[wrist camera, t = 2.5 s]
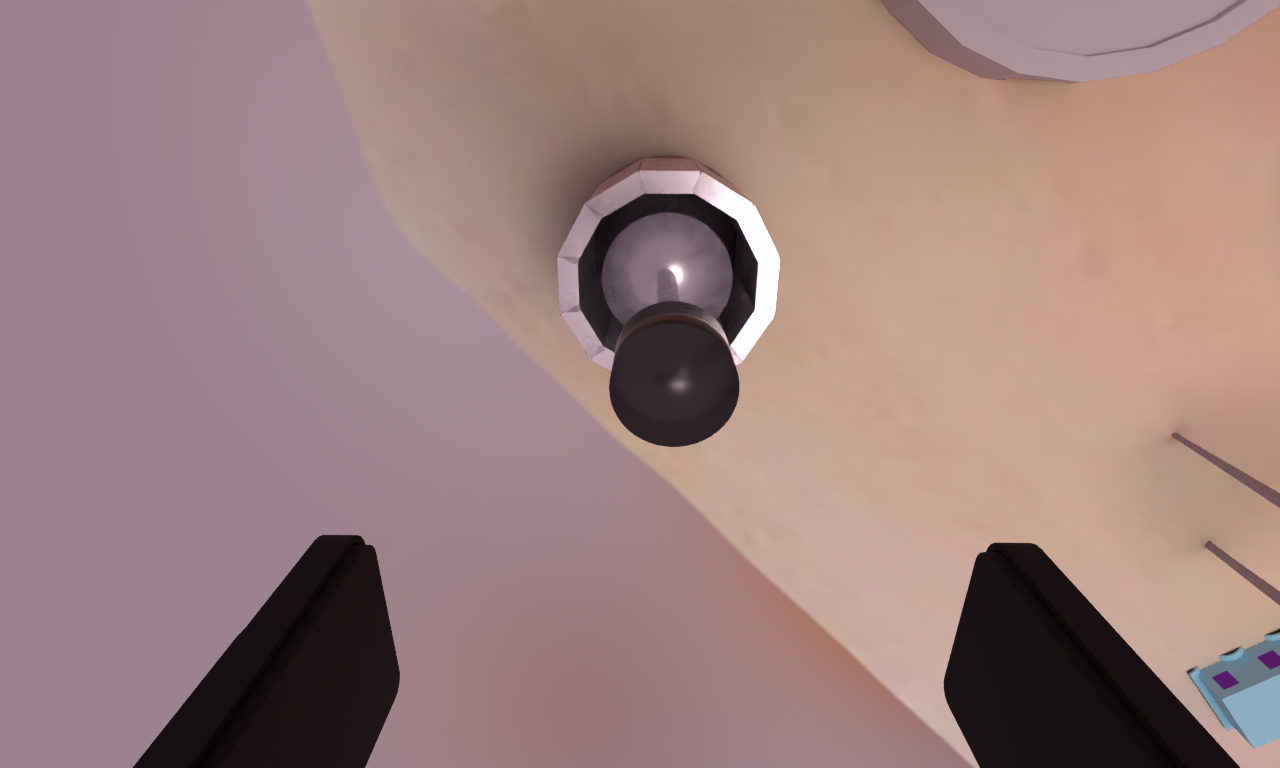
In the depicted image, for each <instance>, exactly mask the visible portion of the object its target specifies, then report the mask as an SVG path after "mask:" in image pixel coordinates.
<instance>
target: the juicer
mask: <svg viewBox="0 0 1280 768" xmlns="http://www.w3.org/2000/svg"><path fill="white" fill-rule="evenodd" d="M1172 435H1173V437H1174V438H1175V439H1177V440H1178V441H1180V442H1181V443H1183V444H1185V445H1186V446H1188V447H1189V448H1191V449H1192V450H1194V451H1195V452H1197V453H1198V454H1200V455H1201V456H1203V457H1204V458H1206V459H1207V460H1209V461H1210V462H1212V463H1213V464H1215V465H1216V466H1218V467H1219V468H1221V469H1222V470H1224V471H1225V472H1227V473H1228V474H1230V475H1231V476H1233V477H1234V478H1236V479H1237V480H1239V481H1240V482H1242V483H1243V484H1245V485H1246V486H1248V487H1249V488H1251V489H1252V490H1254V491H1255V492H1257V493H1258V494H1260V495H1261V496H1263V497H1264V498H1266V499H1267V500H1269V501H1270V502H1272V503H1273V504H1275V505H1276V506H1278V507H1279V508H1280V493H1278V492H1277V491H1275V490H1273V489H1271V488H1270V487H1268V486H1266V485H1264V484H1263V483H1261V482H1259V481H1258V480H1256V479H1254V478H1252V477H1251V476H1249V475H1247V474H1245V473H1244V472H1242V471H1240V470H1239V469H1237V468H1235V467H1233V466H1232V465H1230V464H1228V463H1226V462H1225V461H1223V460H1221V459H1220V458H1218V457H1216V456H1214V455H1213V454H1211V453H1209V452H1208V451H1206V450H1204V449H1203V448H1201V447H1199V446H1197V445H1196V444H1194V443H1192V442H1191V441H1189V440H1187V439H1186V438H1184V437H1182V436H1181V435H1179V434H1177V433H1174V434H1172ZM1206 548H1208V549H1209V550H1210V551H1211V552H1213V553H1214V554H1215V555H1216V556H1218V557H1219V558H1220V559H1221V560H1223V561H1224V562H1225V563H1226V564H1228V565H1229V566H1230V567H1231V568H1233V569H1234V570H1235V571H1237V572H1238V573H1239V574H1240V575H1242V576H1243V577H1244V578H1245V579H1247V580H1248V581H1249V582H1250V583H1252V584H1253V585H1254V586H1255V587H1257V588H1258V589H1259V590H1261V591H1262V592H1263V593H1264V594H1266V595H1267V596H1268V597H1270V598H1271V599H1272V600H1273V601H1275V602H1276V603H1277V604H1279V605H1280V591H1278V590H1277V589H1275V588H1274V587H1273V586H1271V585H1270V584H1268V583H1267V582H1266V581H1264V580H1263V579H1261V578H1260V577H1258V576H1257V575H1256V574H1254V573H1253V572H1251V571H1250V570H1249V569H1247V568H1246V567H1244V566H1243V565H1242V564H1240V563H1239V562H1237V561H1236V560H1235V559H1233V558H1232V557H1231V556H1229V555H1228V554H1226V553H1225V552H1224V551H1222V550H1221V549H1220V548H1218V547H1217V546H1216V545H1214V544H1213V543H1212V542H1208V543H1207V544H1206Z"/></svg>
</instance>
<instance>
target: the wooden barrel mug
mask: <svg viewBox="0 0 1280 768" xmlns="http://www.w3.org/2000/svg"><path fill="white" fill-rule="evenodd" d="M657 211H678V212H683V213H687V214H690V215H692V216H695V217H697V218H698V219H700V220H702V221H703V222H705V223H706V224H708V225H709V226H710V227H711V228H712V229H713V230H714V231H715V232H716V233H717V235H718V236H719V237H720V239H721V240H722V242H723V244H724V246H725V248H726V250H727V252H728V254H729V257H730V261H731V265H732V288H731V292H730V296H729V299H728V301H727V304H726V306H725V308H724V309H723V311H722V313H721V314H720V315H719V317H718V318H717V319H716V320H717V322H718V323H719V324H720V326H721V327H722V329H723V331H724V333H725V335H726V338H727V341H728V344H729V347H730V350H731V354H732V357H733V360H734V363H735V365H737V364H739V363H741V360H742V361H743V360H744V359H745V357H746V356H747V354H748V353H749V351H750V350H751V349H752V347H753V346H754V344H755V343H756V341H757V340H758V339H759V337H760V336H761V334H762V333H763V331H764V330H765V329H766V327H767V326H768V324H769V323H770V321H771V320H772V319H773V317H774V316H773V314H775V306H776V296H777V285H778V274H779V263H780V259H779V255H778V253H777V251H776V249H775V247H774V244H773V242H772V240H771V238H770V236H769V234H768V232H767V230H766V228H765V226H764V224H763V222H762V220H761V218H760V216H759V214H758V211H757V209H756V207H755V205H754V204H753V203H752V202H751V201H750V200H749V199H748V198H747V197H745V196H744V195H743V194H742V193H741V192H740V191H739V190H738V189H737V188H736V187H735V186H734V185H733V184H731V183H730V182H728V181H727V180H725V179H724V178H722V177H721V176H720V175H719V174H717V173H716V172H715V171H713V170H712V169H710V168H708V167H707V166H705V165H703V164H701V163H698V162H697V161H695V160H693V159H692V160H691V158H681V157H674V156H658V157H651V158H643V159H640V160H638V161H636V162H634V163H631V164H629V165H627V166H625V167H623V168H622V169H620V170H619V171H617V172H616V173H614V174H613V175H612V176H611V177H610V178H609V179H607V180H605V181H604V182H602V183H601V184H600V185H599V186H598V187H597V189H596V190H595V191H594V193H593V194H592V195H591V196H590V198H589V199H588V200H587V201H586V203H585V204H584V206H583V208H582V210H581V211H580V213H579V215H578V217H577V219H576V221H575V223H574V225H573V227H572V228H571V230H570V232H569V234H568V236H567V238H566V240H565V242H564V244H563V245H562V247H561V249H560V251H559V253H558V256H557V267H558V288H559V308H560V312H561V316H562V317H563V319H564V321H565V322H566V324H567V325H568V327H569V328H570V330H571V331H572V333H573V335H574V336H575V338H576V339H577V341H578V342H579V344H580V345H581V347H582V349H583V350H584V352H585V353H586V355H587V356H588V358H589V359H590V358H591V361H593V362H595V363H596V364H598V365H600V366H602V367H604V368H606V369H607V370H609V371H612V365H613V360H614V354H615V348H616V343H617V340H618V337H619V334H620V332H621V330H622V329H623V327H624V326H623V325H622V324H621V323H620V322H619V321H618V320H617V318H616V317H615V316H614V314H613V313H612V312H611V310H610V308H609V306H608V304H607V302H606V299H605V296H604V292H603V287H602V270H603V264H604V260H605V257H606V254H607V251H608V249H609V247H610V245H611V243H612V242H613V240H614V238H615V237H616V236H617V234H618V233H619V232H620V231H621V230H622V229H623V228H624V227H625V226H626V225H627V224H629V223H630V222H632V221H633V220H635V219H637V218H639V217H641V216H643V215H646V214H649V213H652V212H657Z"/></svg>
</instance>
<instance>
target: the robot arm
mask: <svg viewBox="0 0 1280 768" xmlns="http://www.w3.org/2000/svg"><path fill="white" fill-rule="evenodd" d="M399 680H400V672H399V666H398V661H397V656H396V651H395V646H394V641H393V636H392V631H391V626H390V621H389V616H388V611H387V606H386V601H385V596H384V591H383V586H382V581H381V576H380V570H379V566H378V561H377V555H376V552H375V549H374V547H373V546H372V545H365V542H364V540H363V539H362V537H361V536H358V535H322V536H319V537H318V538H317V539H316V540H315V541H314V542H313V543H312V545H311V546H310V547H309V548H308V550H307V551H306V552H305V553H304V555H303V556H302V557H301V558H300V560H299V561H298V562H297V563H296V565H295V566H294V567H293V569H292V570H291V571H290V572H289V574H288V575H287V576H286V577H285V579H284V580H283V581H282V582H281V584H280V585H279V586H278V587H277V589H276V590H275V591H274V592H273V594H272V595H271V596H270V598H269V599H268V600H267V601H266V603H265V604H264V605H263V606H262V608H261V609H260V610H259V611H258V613H257V614H256V615H255V617H254V618H253V619H252V620H251V622H250V623H249V624H248V625H247V627H246V628H245V629H244V630H243V631H242V632H241V633H240V634H239V635H238V636H237V637H236V638H235V640H234V641H233V642H232V643H231V645H230V646H229V647H228V648H227V650H226V651H225V652H224V654H223V655H222V656H221V657H220V659H219V660H218V661H217V662H216V664H215V665H214V666H213V668H212V669H211V670H210V671H209V672H208V674H207V675H206V677H204V679H203V680H202V681H201V682H200V684H199V685H198V686H197V688H196V689H195V690H194V691H193V693H192V694H191V695H190V696H189V698H188V699H187V700H186V701H185V703H184V704H183V705H182V706H181V708H180V709H179V710H178V711H177V713H176V714H175V715H174V716H173V718H172V719H171V720H170V721H169V723H168V724H167V725H166V726H165V728H164V729H163V730H162V732H161V733H160V734H159V735H158V737H157V738H156V739H155V740H154V742H153V743H152V744H151V745H150V747H149V748H148V749H147V750H146V752H145V753H144V754H143V756H142V757H141V758H140V759H139V760H138V762H137V763H136V764H135V765H134V767H133V768H365V766H366V764H367V762H368V759H369V757H370V755H371V753H372V750H373V748H374V746H375V743H376V741H377V739H378V737H379V734H380V732H381V730H382V727H383V725H384V723H385V721H386V718H387V716H388V714H389V711H390V709H391V707H392V705H393V702H394V700H395V698H396V695H397V692H398V687H399ZM944 692H945V697H946V701H947V703H948V705H949V708H950V710H951V712H952V714H953V716H954V717H955V719H956V721H957V723H958V725H959V727H960V729H961V731H962V733H963V735H964V737H965V739H966V741H967V743H968V745H969V747H970V749H971V751H972V753H973V755H974V757H975V759H976V761H977V763H978V765H979V767H980V768H1240V767H1239V766H1238V765H1237V763H1236V762H1235V761H1234V760H1233V759H1232V758H1231V757H1230V756H1229V755H1228V754H1227V753H1226V751H1225V750H1224V749H1223V748H1222V747H1221V746H1220V745H1219V744H1218V743H1217V742H1216V740H1215V739H1214V738H1213V737H1212V736H1211V735H1210V734H1209V733H1208V732H1207V731H1206V729H1205V728H1204V727H1203V726H1202V725H1201V724H1200V723H1199V722H1198V721H1197V720H1196V718H1195V717H1194V716H1193V715H1192V714H1191V713H1190V712H1189V711H1188V710H1187V709H1186V707H1185V706H1184V705H1183V704H1182V703H1181V702H1180V701H1179V700H1178V699H1177V698H1176V696H1175V695H1174V694H1173V693H1172V692H1171V691H1170V690H1169V689H1168V688H1167V687H1166V685H1165V684H1164V683H1163V682H1162V681H1161V680H1160V679H1159V678H1158V677H1157V676H1156V674H1155V673H1154V672H1153V671H1152V670H1151V669H1150V668H1149V667H1148V666H1147V665H1146V664H1145V662H1144V661H1143V660H1142V659H1141V658H1140V657H1139V656H1138V655H1137V654H1136V653H1135V651H1134V650H1133V649H1132V648H1131V647H1130V646H1129V645H1128V644H1127V643H1126V642H1125V640H1124V639H1123V638H1122V637H1121V636H1120V635H1119V634H1118V633H1117V632H1116V631H1115V629H1114V628H1113V627H1112V626H1111V625H1110V624H1109V623H1108V622H1107V621H1106V620H1105V618H1104V617H1103V616H1102V615H1101V614H1100V613H1099V612H1098V611H1097V610H1096V609H1095V607H1094V606H1093V605H1092V604H1091V603H1090V602H1089V601H1088V600H1087V599H1086V598H1085V596H1084V595H1083V594H1082V593H1081V592H1080V591H1079V590H1078V589H1077V588H1076V587H1075V585H1074V584H1073V583H1072V582H1071V581H1070V580H1069V579H1068V578H1067V577H1066V576H1065V574H1064V573H1063V572H1062V571H1061V570H1060V569H1059V568H1058V567H1057V566H1056V565H1055V564H1054V562H1053V561H1052V560H1051V559H1050V558H1049V557H1048V556H1047V555H1046V554H1045V553H1044V551H1043V550H1042V549H1041V548H1039V547H1038V546H1037V545H1035V544H1032V543H993V544H991V545H990V546H989V547H988V549H987V551H986V552H983V553H980V554H979V555H978V556H977V558H976V561H975V564H974V568H973V572H972V576H971V580H970V583H969V587H968V591H967V595H966V598H965V602H964V606H963V610H962V613H961V617H960V621H959V625H958V628H957V632H956V636H955V640H954V644H953V647H952V651H951V655H950V659H949V662H948V666H947V670H946V674H945V677H944Z"/></svg>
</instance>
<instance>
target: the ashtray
mask: <svg viewBox="0 0 1280 768" xmlns="http://www.w3.org/2000/svg"><path fill="white" fill-rule="evenodd" d="M882 1H883V3H884V4H885V6H886V8H887V10H888V11H889V12H890V13H891V14H892V15H893V16H894V17H895V18H896V19H897V20H898V21H899V22H900V23H901V24H902V25H903V26H904V27H905V28H906V29H907V30H908V31H909V32H910V33H911V34H912V35H913V36H914V37H915V38H916V39H917V40H918V41H919V42H920V43H921V44H922V45H923V46H924V47H925V48H926V49H927V50H928V51H929V52H930V53H932V54H934V55H936V56H938V57H941V58H943V59H945V60H947V61H949V62H951V63H953V64H955V65H957V66H959V67H961V68H963V69H965V70H967V71H969V72H971V73H973V74H975V75H977V76H979V77H982V78H989V79H996V80H1005V79H1007V78H1021V79H1036V80H1046V81H1054V82H1062V83H1081V82H1089V81H1096V80H1103V79H1110V78H1117V77H1124V76H1131V75H1138V74H1145V73H1151V72H1154V71H1156V70H1159V69H1161V68H1163V67H1166V66H1168V65H1171V64H1173V63H1176V62H1178V61H1181V60H1183V59H1186V58H1188V57H1191V56H1193V55H1196V54H1198V53H1201V52H1203V51H1205V50H1208V49H1210V48H1213V47H1215V46H1218V45H1220V44H1223V43H1224V42H1226V41H1227V40H1229V39H1230V38H1232V37H1233V36H1235V35H1236V34H1237V33H1239V32H1240V31H1242V30H1243V29H1245V28H1246V27H1248V26H1249V25H1251V24H1252V23H1254V22H1255V21H1257V20H1258V19H1260V18H1261V17H1263V16H1264V15H1266V14H1267V13H1269V12H1270V11H1272V10H1273V9H1275V8H1276V7H1278V6H1279V5H1280V0H882Z"/></svg>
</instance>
